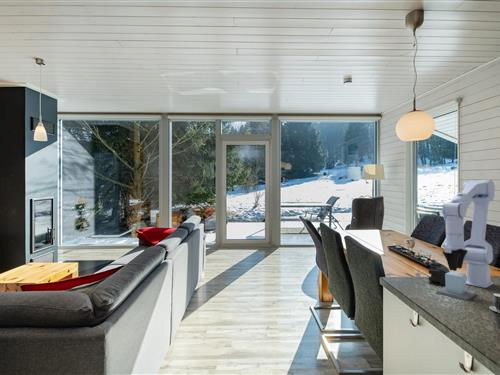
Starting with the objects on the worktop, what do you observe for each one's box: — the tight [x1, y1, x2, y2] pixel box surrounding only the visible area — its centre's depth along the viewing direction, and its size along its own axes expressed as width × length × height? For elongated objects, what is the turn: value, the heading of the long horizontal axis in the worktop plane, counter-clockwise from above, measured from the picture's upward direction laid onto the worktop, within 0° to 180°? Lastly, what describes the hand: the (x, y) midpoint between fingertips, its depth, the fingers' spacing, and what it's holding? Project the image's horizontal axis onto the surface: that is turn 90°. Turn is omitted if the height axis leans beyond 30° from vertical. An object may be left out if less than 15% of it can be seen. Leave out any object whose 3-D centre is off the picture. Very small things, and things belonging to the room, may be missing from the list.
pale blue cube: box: [444, 270, 467, 294], centre depth 117 cm, size 5×5×7 cm
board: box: [435, 286, 477, 301], centre depth 117 cm, size 10×10×1 cm
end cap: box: [428, 264, 451, 286], centre depth 131 cm, size 10×7×7 cm
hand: (455, 269), depth 117 cm, fingers open, 4 cm apart
